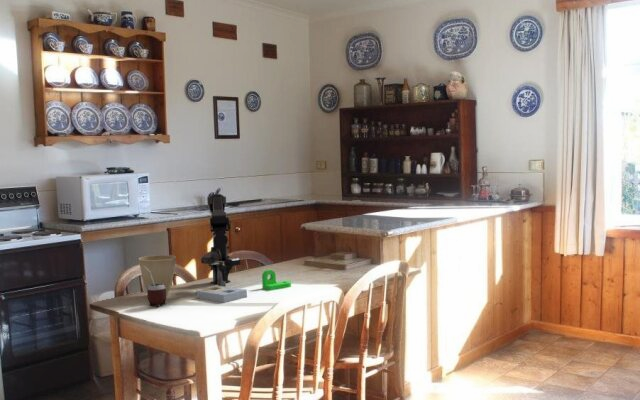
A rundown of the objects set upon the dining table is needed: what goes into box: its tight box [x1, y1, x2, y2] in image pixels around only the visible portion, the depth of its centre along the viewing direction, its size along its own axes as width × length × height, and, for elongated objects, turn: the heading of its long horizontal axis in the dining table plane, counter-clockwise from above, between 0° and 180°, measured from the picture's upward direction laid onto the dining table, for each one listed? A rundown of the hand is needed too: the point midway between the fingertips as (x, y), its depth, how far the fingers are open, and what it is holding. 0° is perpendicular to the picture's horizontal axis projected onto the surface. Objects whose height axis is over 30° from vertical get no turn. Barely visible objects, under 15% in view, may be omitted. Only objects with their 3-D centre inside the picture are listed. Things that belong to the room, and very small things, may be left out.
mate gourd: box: [144, 266, 167, 308], centre depth 252 cm, size 8×8×15 cm
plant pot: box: [138, 254, 177, 297], centre depth 270 cm, size 15×15×16 cm
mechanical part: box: [261, 269, 292, 291], centre depth 280 cm, size 12×6×8 cm, turn 127°
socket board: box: [196, 285, 248, 304], centre depth 262 cm, size 16×12×3 cm
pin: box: [217, 264, 227, 287], centre depth 277 cm, size 3×3×10 cm
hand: (221, 281), depth 277 cm, fingers closed on pin, 3 cm apart
